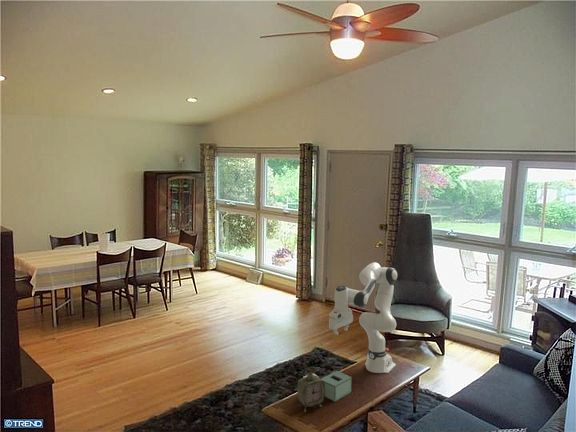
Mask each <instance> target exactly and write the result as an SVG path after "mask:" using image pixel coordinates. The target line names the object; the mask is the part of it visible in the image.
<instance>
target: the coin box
mask: <svg viewBox="0 0 576 432" xmlns="http://www.w3.org/2000/svg"><path fill="white" fill-rule="evenodd" d="M320 379H321V380H323V381H324V384H325V397H324V398H326V399H329V400H330V401H332V402H334V403H336V402H337V401H339V400H341V399H343V398H344V397H346V396H348V395H350V394H351V393H352V381H353V380H352V376H349V375H347V374H345V373H343V372H341V371H338V370H336V371H334V372H332V373H329V374H328V375H325V376H323V377H322V378H320Z"/></svg>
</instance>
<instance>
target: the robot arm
mask: <svg viewBox="0 0 576 432" xmlns="http://www.w3.org/2000/svg"><path fill="white" fill-rule="evenodd" d="M398 274H399V273H398V270H397V269H396V268H394V267H389V266H387V267H385V266H383V267H382V266H381V265H380V264H379V263H378V262H375V261H374V262H371V263H369V264H367V266H365V267H364V268H363V269H362V270H361V271H360V273H359V276H358V278H359V282H360V283H361V285H363V286H364V288H363V290H358V289H353V288H349V287H347V286H346V285H339V286H337V287H335V289H334V296H333V297H334V299H333V301H334V306H333V307H334V308H333V309H332V310H331V311H329V313H328V317H329V319H328V328H329V329H330V330H332V331H333V332H334V335H335V336H338V335H339V331H338V329H340V328H343V330H344V331H345V332H348V329H349V326H350V324H352V323H353V321H354V315H353V310H352V308H350V307H349V305H352V306H355V307H358V308H363V307H365V306H367V304H368V302H369V300H370V298H371V295H372V294H373V292H374V290H375V289H376V285H377V284H379V287H378V289H377V291H376V292H377V293H376V294H375V295H376V296H375V300H374V307H375V308H376V309H377V311H379V313H376V312H375V313H374V312H362V313H361V314H360V315H359V318H358V320H359V325H360V326H361V327H362V328H363V330H365V332H366V334H367V337H368V348H367V355H366V361H365V363H364V366H365V368H366V370H367V371H368V372H370V373H373V374H374V373H375V374H389V373H390V371H392V370H393V369H394V368H395V367H396V363H395V362H394V361H393V357H392V356H391V355H390V354H388V353H387V352H389V351H390V349H389V348H387V347H386V338H385V337H384V336H383V334H381V333H380V332H384V333H392V332H394V331H395V330H396V327H397V321H396V319H395V318H394V316H393V315H392V312H391V306H392V305H391V304H392V301H393V297H394V289H395V288H394V287H395V286H394V285H395V284H396V282H397V280H398V278H399V277H398V276H399V275H398Z"/></svg>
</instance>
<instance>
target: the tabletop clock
mask: <svg viewBox="0 0 576 432" xmlns="http://www.w3.org/2000/svg"><path fill="white" fill-rule="evenodd" d="M310 369H314V371H310V372H309V373H308V370H310ZM316 371H317V368H316V367H314V366H310V367H307V369H305V374H306V375H307V377H305V378H303V377H302V378H300V379H299V380H298V381H297V389H296V390H297V391H296V392H297V400H298V401H299V402H300V404H302V406H304V409H303V412H304V413H306V412H307V408H309V407H315V406H317V405H319V408H322V407H323V405H322V404H321V403H323V402H324V401H325V398H326V397H325V384H324V381H323V380H321V378H320V376H318V375H317V376H318V377H317V376H314V375H313V373H314V374H315V373H316Z"/></svg>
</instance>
